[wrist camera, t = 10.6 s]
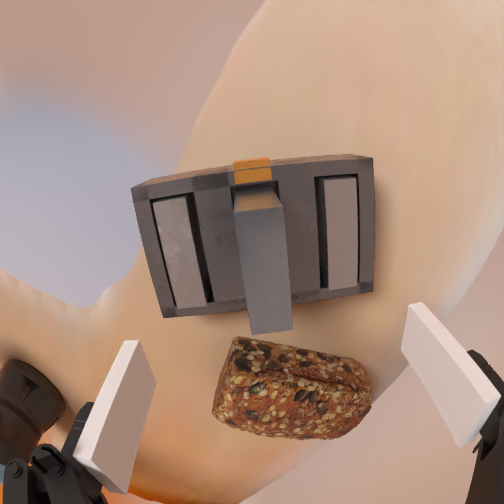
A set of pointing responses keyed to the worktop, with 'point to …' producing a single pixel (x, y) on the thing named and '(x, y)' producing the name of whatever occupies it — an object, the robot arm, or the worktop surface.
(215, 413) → the bread
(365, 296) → the worktop surface
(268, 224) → the block
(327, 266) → the rack
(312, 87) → the worktop surface
